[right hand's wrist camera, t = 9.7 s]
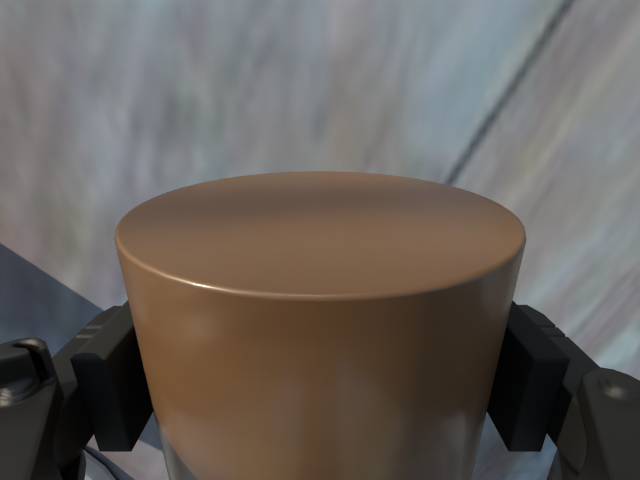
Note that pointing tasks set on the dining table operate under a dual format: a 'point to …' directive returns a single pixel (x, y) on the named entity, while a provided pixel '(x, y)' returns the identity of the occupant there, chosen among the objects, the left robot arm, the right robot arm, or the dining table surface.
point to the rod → (320, 324)
